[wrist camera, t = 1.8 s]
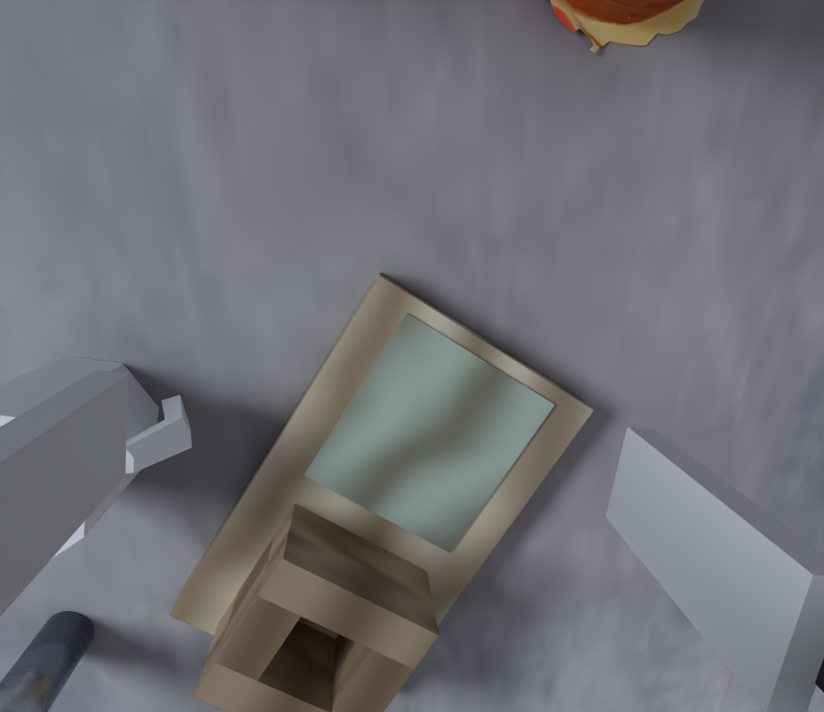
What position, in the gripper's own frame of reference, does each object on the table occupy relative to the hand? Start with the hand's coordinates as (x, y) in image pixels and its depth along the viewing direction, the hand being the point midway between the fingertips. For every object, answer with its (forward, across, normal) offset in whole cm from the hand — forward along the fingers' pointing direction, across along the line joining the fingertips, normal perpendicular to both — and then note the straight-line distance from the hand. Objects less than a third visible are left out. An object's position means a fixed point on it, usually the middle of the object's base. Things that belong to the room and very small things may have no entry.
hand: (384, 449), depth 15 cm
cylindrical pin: (+21, -18, -24) cm, 37 cm away
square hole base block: (+21, +2, -13) cm, 25 cm away
